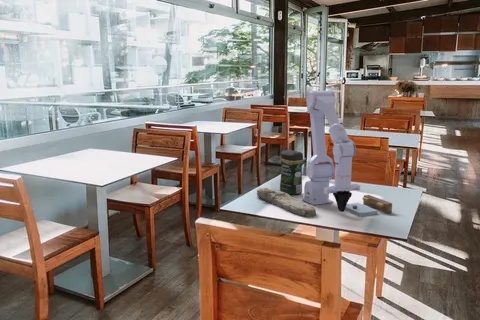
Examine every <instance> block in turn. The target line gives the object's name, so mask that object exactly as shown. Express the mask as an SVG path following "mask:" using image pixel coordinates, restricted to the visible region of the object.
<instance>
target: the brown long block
mask: <svg viewBox="0 0 480 320" xmlns="http://www.w3.org/2000/svg"><path fill="white" fill-rule="evenodd" d="M362 200H363V203H362V204H363V205H365V206H368V207H370V208H373V209H375V210H378V211H379V212H381V213H384V214H391V213H393V212H392V211H393V203H392V202H391V201H390V202H389V201H386V200H384V199H382V198H378V197H376V196H373V195H371V194H365V195H363V197H362Z"/></svg>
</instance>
